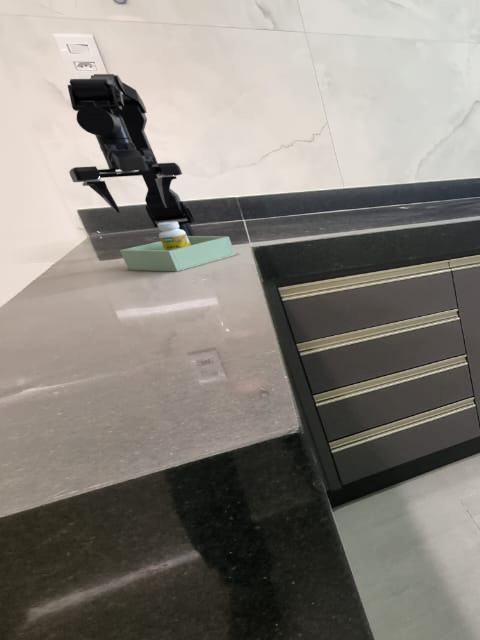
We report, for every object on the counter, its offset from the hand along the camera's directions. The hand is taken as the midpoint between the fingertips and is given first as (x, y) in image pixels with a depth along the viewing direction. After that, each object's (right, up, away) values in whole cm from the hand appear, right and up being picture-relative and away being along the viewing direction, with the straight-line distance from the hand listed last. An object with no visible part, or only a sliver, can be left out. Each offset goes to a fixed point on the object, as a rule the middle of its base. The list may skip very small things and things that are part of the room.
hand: (143, 210), depth 126 cm
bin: (+1, -11, +10) cm, 14 cm away
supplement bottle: (+1, -10, +10) cm, 14 cm away
